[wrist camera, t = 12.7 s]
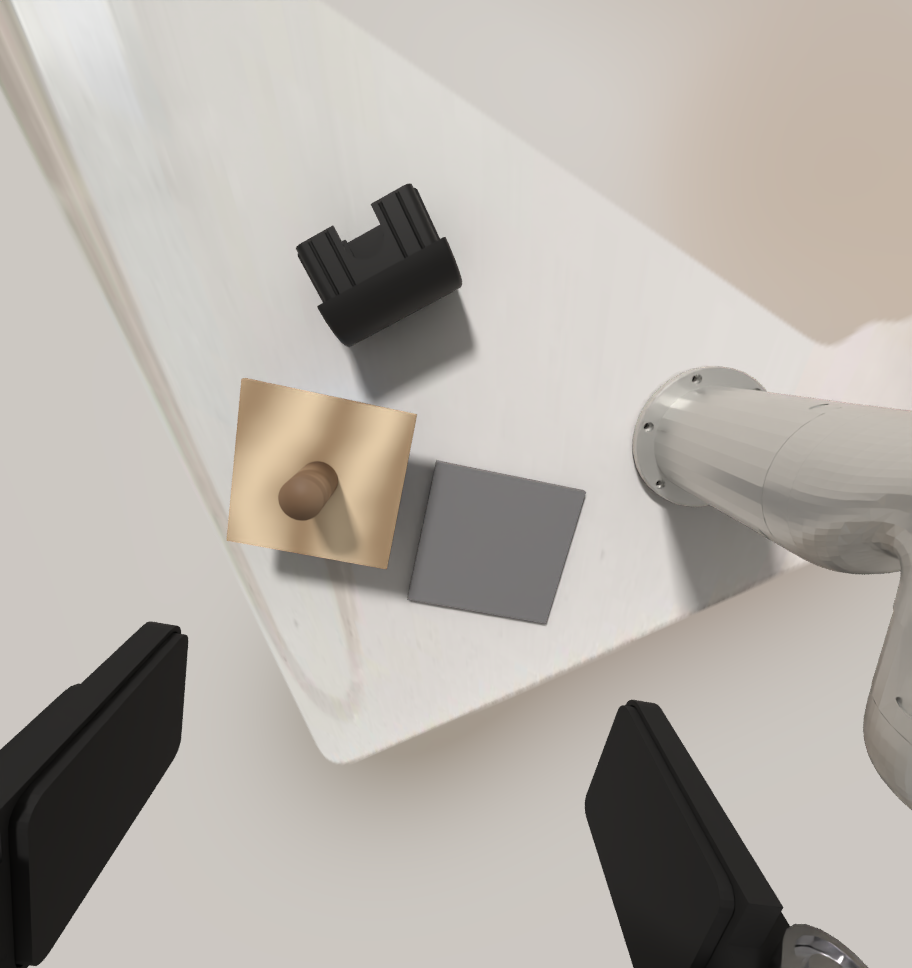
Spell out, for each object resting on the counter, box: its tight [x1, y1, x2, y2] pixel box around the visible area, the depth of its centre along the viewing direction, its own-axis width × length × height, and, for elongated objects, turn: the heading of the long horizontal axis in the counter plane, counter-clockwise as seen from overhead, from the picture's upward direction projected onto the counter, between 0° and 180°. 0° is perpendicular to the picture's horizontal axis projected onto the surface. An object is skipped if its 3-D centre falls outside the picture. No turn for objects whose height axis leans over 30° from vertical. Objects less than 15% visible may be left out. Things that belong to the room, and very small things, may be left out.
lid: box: [227, 378, 417, 569], centre depth 35 cm, size 13×13×6 cm
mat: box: [407, 461, 586, 624], centre depth 45 cm, size 14×14×1 cm
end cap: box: [296, 184, 462, 347], centre depth 35 cm, size 10×7×7 cm
